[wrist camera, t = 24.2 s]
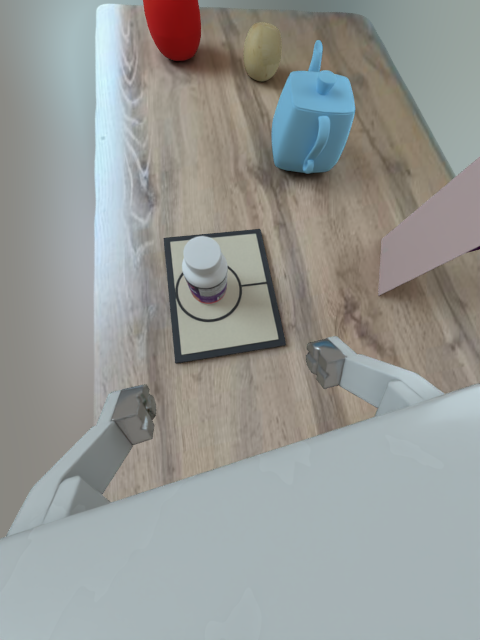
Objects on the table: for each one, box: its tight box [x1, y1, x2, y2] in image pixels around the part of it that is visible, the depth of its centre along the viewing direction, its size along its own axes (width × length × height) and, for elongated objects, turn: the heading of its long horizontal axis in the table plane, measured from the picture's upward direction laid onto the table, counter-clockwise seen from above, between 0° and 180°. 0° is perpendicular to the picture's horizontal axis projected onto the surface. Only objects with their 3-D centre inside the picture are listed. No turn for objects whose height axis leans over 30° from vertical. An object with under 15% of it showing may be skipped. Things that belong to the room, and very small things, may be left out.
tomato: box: [143, 0, 201, 61], centre depth 40 cm, size 10×11×11 cm
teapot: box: [272, 40, 355, 174], centre depth 35 cm, size 12×18×12 cm
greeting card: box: [378, 157, 480, 296], centre depth 28 cm, size 11×7×15 cm, turn 131°
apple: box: [244, 22, 282, 81], centre depth 42 cm, size 8×8×8 cm
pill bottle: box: [182, 236, 228, 305], centre depth 26 cm, size 5×5×10 cm
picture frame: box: [164, 229, 286, 363], centre depth 31 cm, size 16×20×1 cm
